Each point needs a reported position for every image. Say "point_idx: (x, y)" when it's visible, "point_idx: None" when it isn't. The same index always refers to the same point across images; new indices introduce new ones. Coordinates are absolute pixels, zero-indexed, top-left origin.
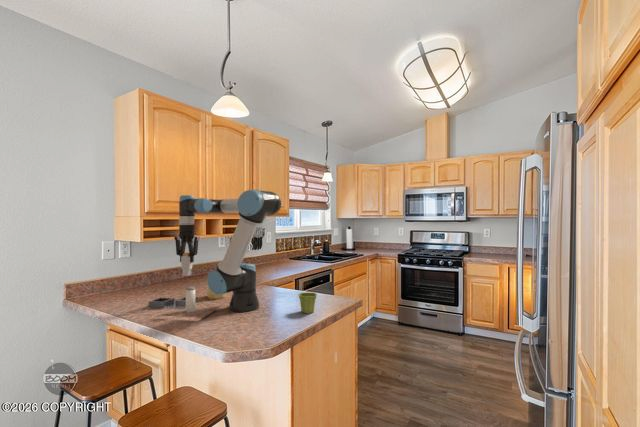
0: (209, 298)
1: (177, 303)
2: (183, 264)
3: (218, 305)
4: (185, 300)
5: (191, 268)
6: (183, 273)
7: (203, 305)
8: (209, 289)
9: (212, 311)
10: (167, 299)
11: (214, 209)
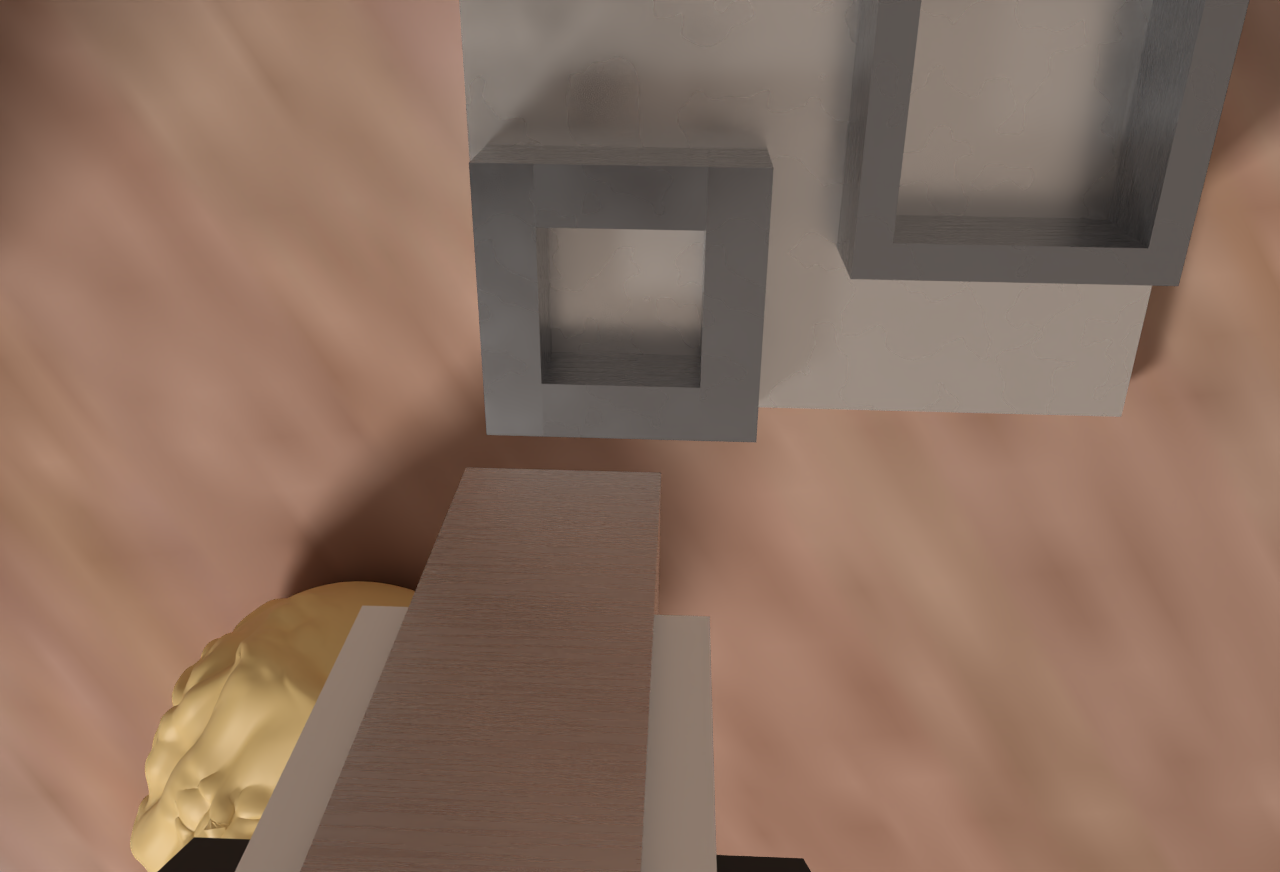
0: None
1: (721, 155)
2: (593, 722)
3: (163, 384)
4: (572, 198)
5: None
6: (618, 508)
7: (392, 357)
8: None
9: (16, 44)
10: (980, 238)
11: None
